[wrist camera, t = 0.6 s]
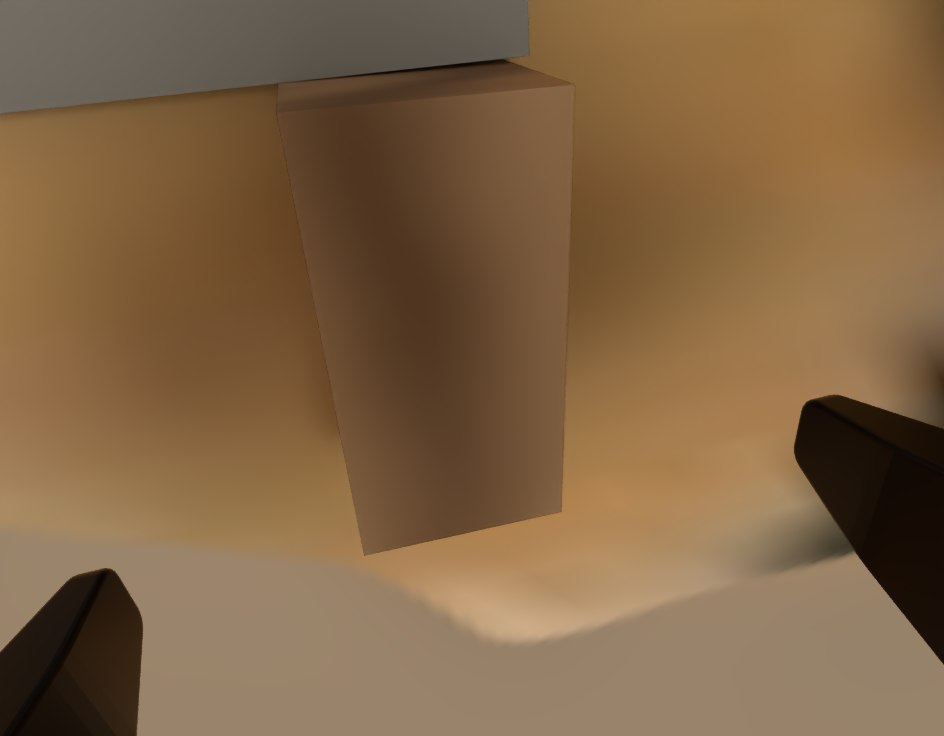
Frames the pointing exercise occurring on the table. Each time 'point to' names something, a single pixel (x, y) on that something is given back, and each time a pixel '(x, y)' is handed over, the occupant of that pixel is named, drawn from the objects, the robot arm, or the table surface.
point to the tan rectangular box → (439, 286)
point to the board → (234, 44)
